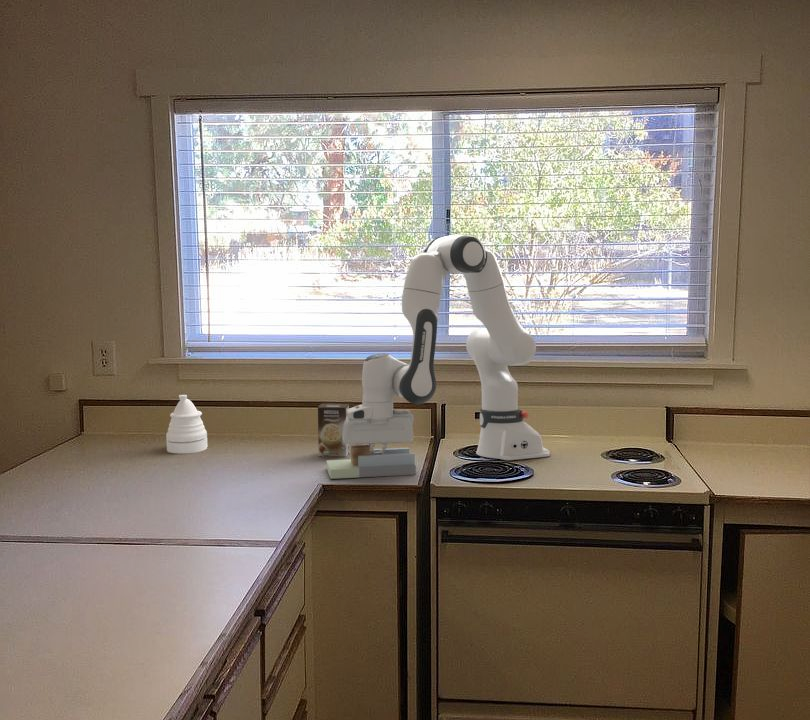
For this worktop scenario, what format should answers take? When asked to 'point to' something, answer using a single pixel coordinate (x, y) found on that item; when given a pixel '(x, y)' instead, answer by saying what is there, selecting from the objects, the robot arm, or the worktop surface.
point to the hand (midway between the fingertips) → (378, 458)
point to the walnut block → (359, 452)
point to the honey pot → (186, 429)
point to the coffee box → (332, 429)
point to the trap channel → (375, 465)
